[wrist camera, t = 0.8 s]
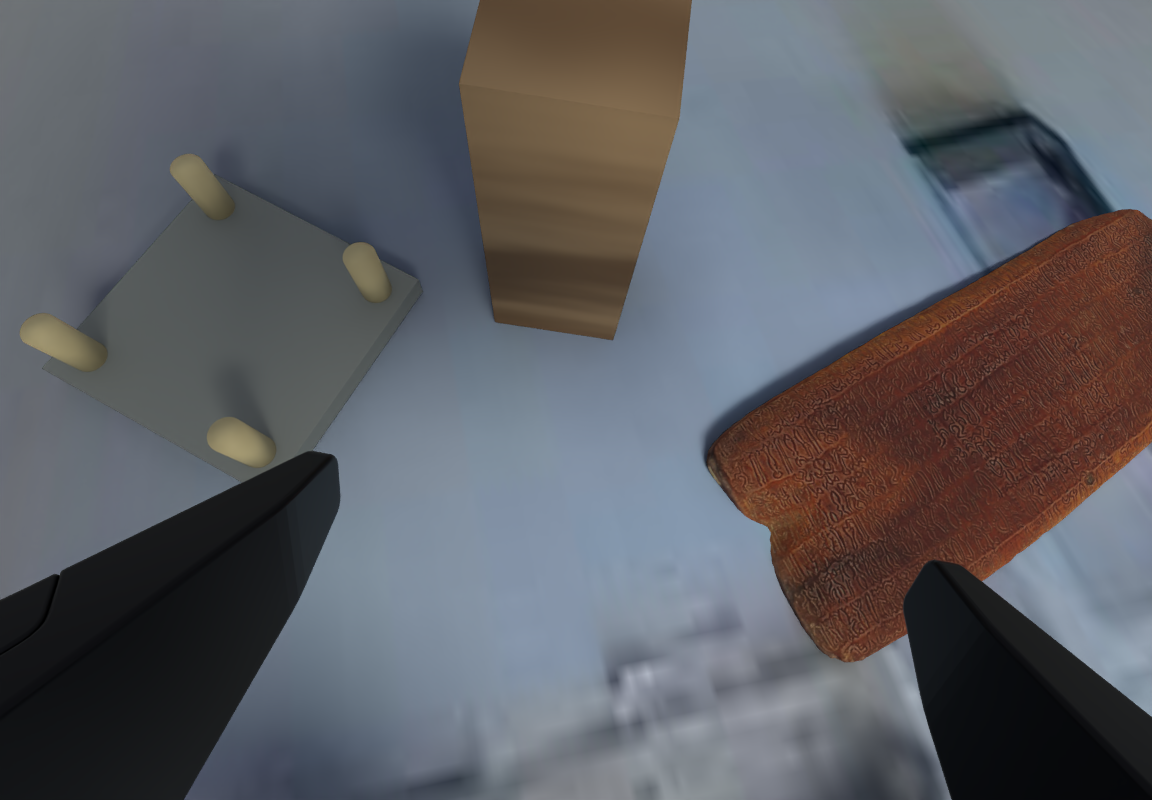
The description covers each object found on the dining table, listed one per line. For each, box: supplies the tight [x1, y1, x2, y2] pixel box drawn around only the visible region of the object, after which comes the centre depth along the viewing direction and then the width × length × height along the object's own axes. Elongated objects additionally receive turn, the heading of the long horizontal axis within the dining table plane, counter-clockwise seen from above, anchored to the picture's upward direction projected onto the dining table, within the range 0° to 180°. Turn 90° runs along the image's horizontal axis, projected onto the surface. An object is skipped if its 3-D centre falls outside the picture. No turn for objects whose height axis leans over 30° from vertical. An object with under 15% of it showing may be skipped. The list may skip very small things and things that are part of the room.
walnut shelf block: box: [459, 0, 692, 340], centre depth 20 cm, size 4×5×12 cm
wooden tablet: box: [706, 209, 1152, 662], centre depth 26 cm, size 27×10×2 cm, turn 121°
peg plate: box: [20, 154, 423, 482], centre depth 23 cm, size 10×10×4 cm
